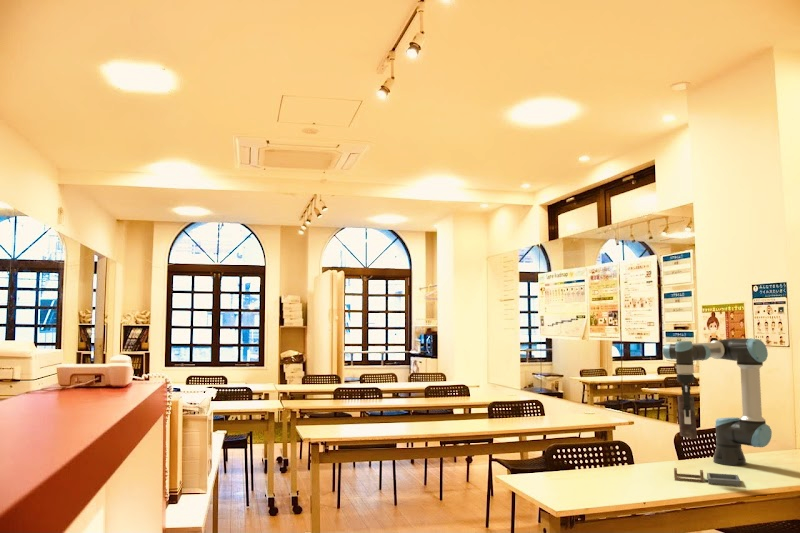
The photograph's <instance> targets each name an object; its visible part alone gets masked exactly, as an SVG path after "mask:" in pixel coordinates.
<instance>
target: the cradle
mask: <svg viewBox="0 0 800 533" xmlns="http://www.w3.org/2000/svg"><path fill="white" fill-rule="evenodd" d="M677 468H678V467H677ZM677 468H676V467H674V468H673V474H674V481H679V482H683V481H684V482H692V483H693V482H695V483H705V479H704V470H703V469H699V474H689V473H678V469H677Z"/></svg>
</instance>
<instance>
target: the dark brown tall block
mask: <svg viewBox="0 0 800 533" xmlns="http://www.w3.org/2000/svg"><path fill="white" fill-rule="evenodd" d="M689 397H690V414H691V424H685V421H684V410H683V408H684V396H683V395H677V408H678V409H677V410H678V424H679V436H680V437H683V438H687V439H689V440H695V439H697V438H698V433H697V421H696V420H697V419H696V406H695V396H694V395H691V394H690V396H689Z"/></svg>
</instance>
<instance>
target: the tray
mask: <svg viewBox="0 0 800 533" xmlns="http://www.w3.org/2000/svg"><path fill="white" fill-rule="evenodd" d="M706 479H707V480H706V481H707V483H708V484H709V485H718V486H719V485H720V486H730V487H740V486H741V487H742V483H741V482H742V481H741V479H740V477H739V475H738V474H731V473H730V474H727V473H718V472H716V473H715V472H706Z"/></svg>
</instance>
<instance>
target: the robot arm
mask: <svg viewBox="0 0 800 533" xmlns="http://www.w3.org/2000/svg"><path fill="white" fill-rule="evenodd" d="M768 354H769V353H768V349H767V345H766V344H765V343H764V341H762V340H761V339H758V338H733V337H732V338H726V339H717V340H712V341H710V342H698V343H697V342H695V343H694V342H693V341H690V340H679V341H677V340H676V341H675V343H674V344H673V343H668V344H665V345H664V346H663V347H662V355H663V357H664V358H665V359H668V360H676V361H675V364H676V365H675V367H674V369H676V373H677V374H676V382H677V383H682V385H681V387H680V388H681V394H682V395H681V396H684V408H683V410H684V421H685V424H691V414H690V397H689V396H690V395H691V388H692V387H691V385H689V384H690V383H695V375H694V373H695V368H694V361H707V360H708V359H709V358H712V359H713V360H714V359H716V360H725V361H726V360H727V361H734V362H736V365H737V366H738V367H739V368H740V384H741V403H742V404H741V407H742V408H741V409H742V416H740V417H721V418H720V417H719V418H716V420H715V424H714V425H715V426H714V428H715V442H716V444H715V445H716V447H715V450H714V453H713V459H712V460H713V462H714V463H716V464H720V465H723V466H724V465H725V466H745V465H747V459H746V457H745V454H744V451H743V449H742V445H744V446H749V447H754V448H765V447H767V445H769V443H770V442H771V439H772V433H773V432H772V429H771V427H770V425H768V424H766V422H767V421H766V419H765V418H764V417H763V416H762V415H763V414H762V413H763V412H762V410H763V409H762V396H761V395H762V392H761V391H762V390H761V375H760V374H761V373H760V372H761V371H760V370H761V368H762V367H763V364H764V362H766V360H767V358H768Z"/></svg>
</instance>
